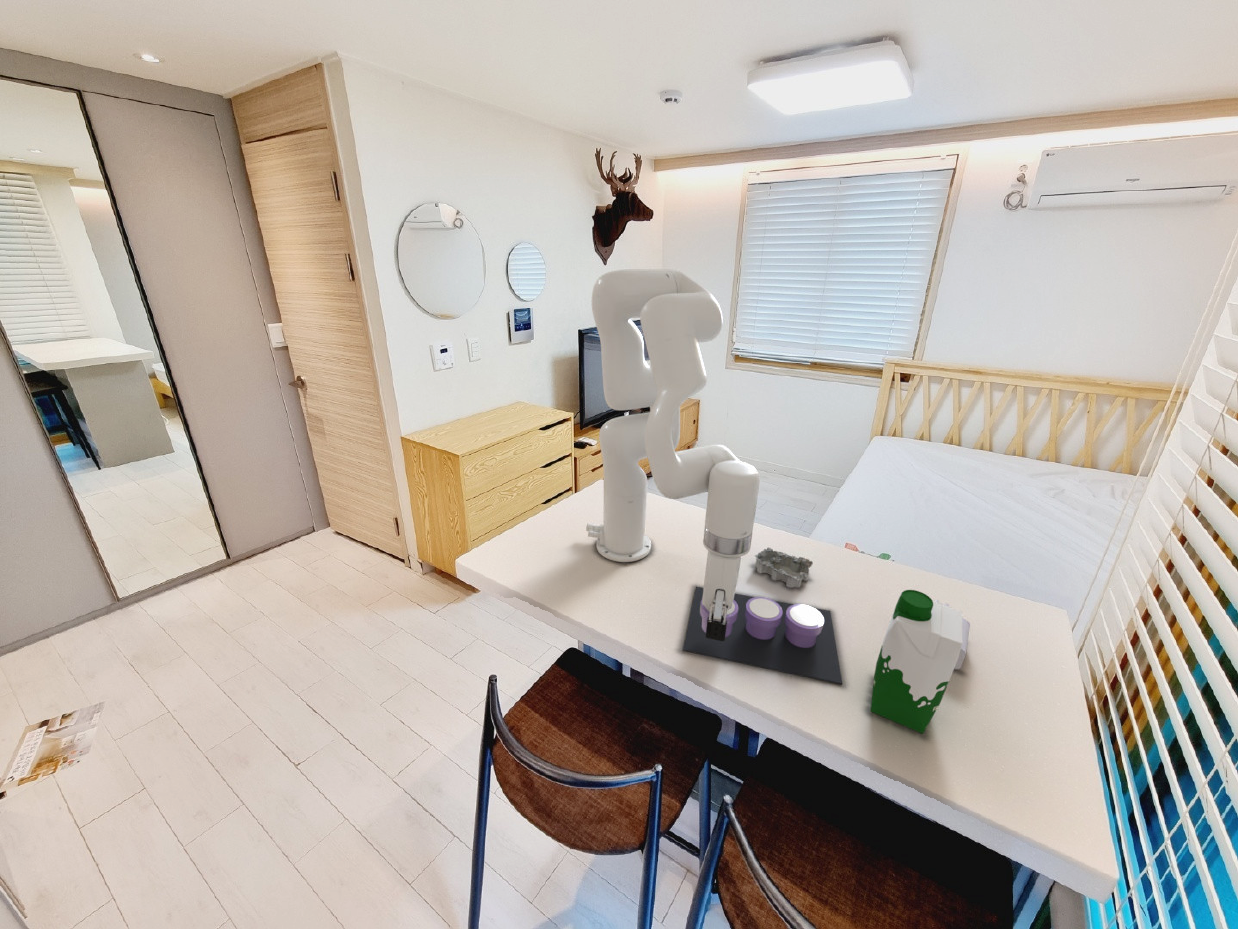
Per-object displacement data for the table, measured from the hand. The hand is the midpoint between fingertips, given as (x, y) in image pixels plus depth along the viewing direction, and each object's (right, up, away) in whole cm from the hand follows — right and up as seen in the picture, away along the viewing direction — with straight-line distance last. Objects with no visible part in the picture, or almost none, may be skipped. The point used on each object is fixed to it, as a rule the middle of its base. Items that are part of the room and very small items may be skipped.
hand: (717, 623), depth 88 cm
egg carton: (+18, +4, +20) cm, 27 cm away
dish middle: (+9, -2, +4) cm, 10 cm away
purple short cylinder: (0, -1, 0) cm, 1 cm away
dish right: (+16, -3, +3) cm, 16 cm away
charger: (+41, -4, +4) cm, 41 cm away
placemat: (+9, -3, +4) cm, 10 cm away
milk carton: (+26, -10, -10) cm, 30 cm away
